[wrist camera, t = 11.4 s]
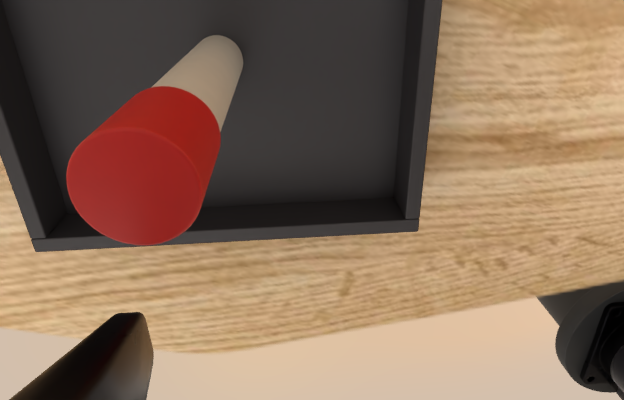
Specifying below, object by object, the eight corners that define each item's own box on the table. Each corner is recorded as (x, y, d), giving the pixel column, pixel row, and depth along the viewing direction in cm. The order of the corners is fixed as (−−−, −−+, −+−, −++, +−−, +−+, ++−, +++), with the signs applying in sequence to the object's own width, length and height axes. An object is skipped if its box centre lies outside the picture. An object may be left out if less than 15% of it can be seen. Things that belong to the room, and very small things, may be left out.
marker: (248, 86, 17) (209, 243, 7) (195, 88, 17) (84, 250, 7) (243, 31, 16) (192, 124, 6) (187, 32, 16) (46, 130, 6)
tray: (402, 202, 20) (418, 232, 18) (63, 219, 20) (35, 252, 17) (432, -159, 14) (462, -183, 12) (-56, -156, 14) (-124, -181, 11)
